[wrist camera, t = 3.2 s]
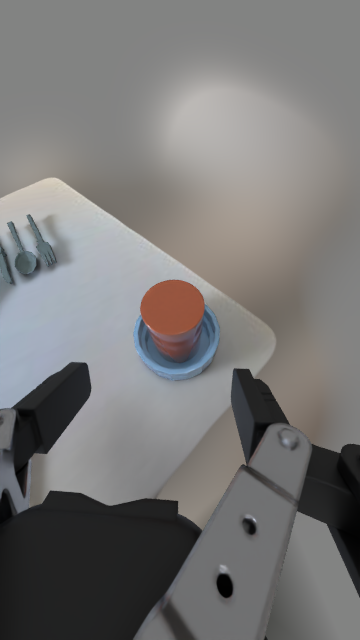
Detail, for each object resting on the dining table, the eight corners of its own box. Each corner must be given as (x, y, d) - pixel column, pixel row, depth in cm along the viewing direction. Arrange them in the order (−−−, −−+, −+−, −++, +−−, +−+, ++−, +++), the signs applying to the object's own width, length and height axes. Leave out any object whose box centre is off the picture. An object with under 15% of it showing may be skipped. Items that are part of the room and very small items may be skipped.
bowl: (226, 327, 26) (232, 312, 22) (196, 396, 22) (197, 391, 19) (164, 301, 28) (160, 284, 25) (127, 360, 25) (116, 349, 21)
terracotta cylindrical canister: (207, 331, 25) (215, 292, 17) (188, 371, 23) (187, 346, 15) (168, 314, 26) (160, 271, 19) (147, 351, 24) (127, 318, 17)
